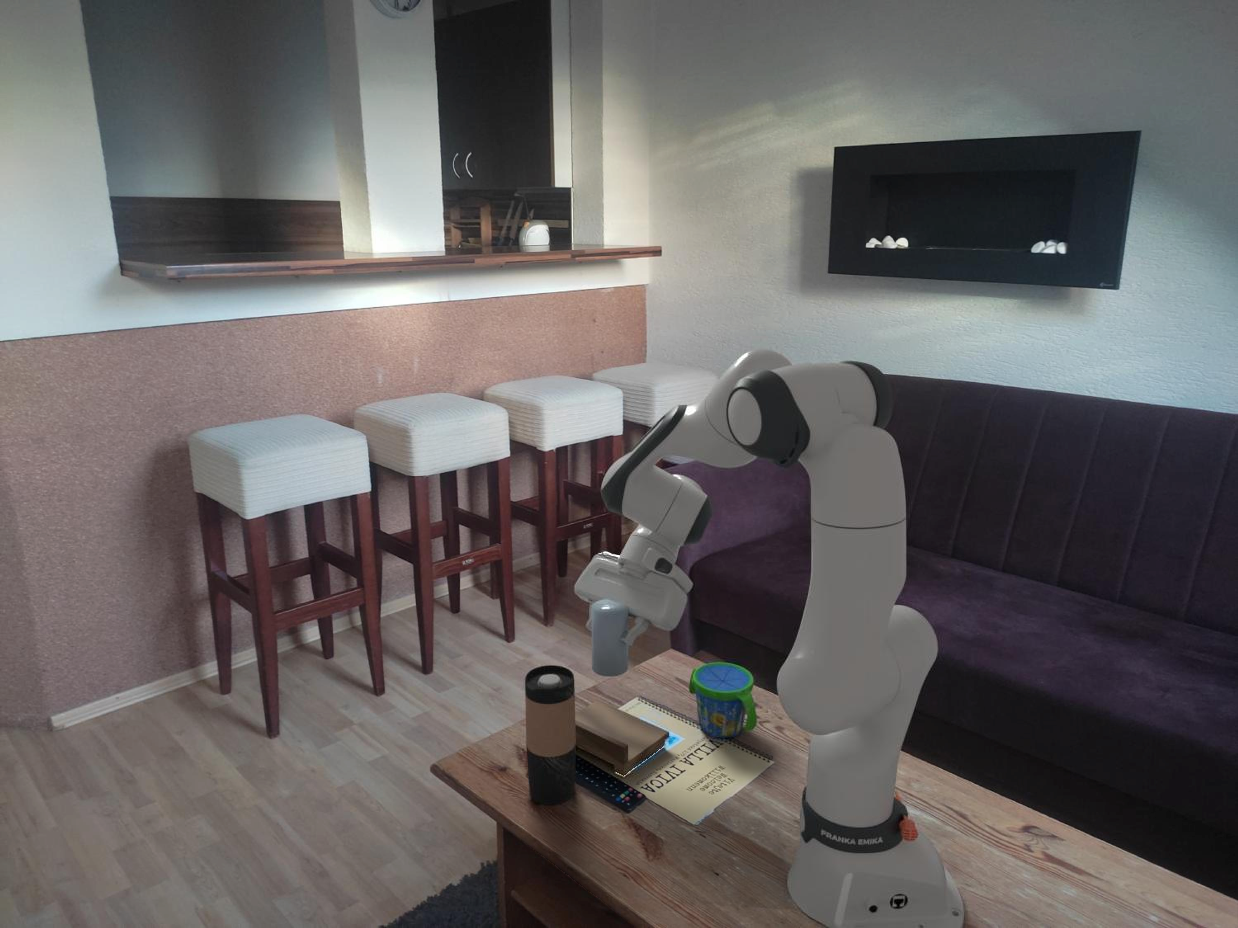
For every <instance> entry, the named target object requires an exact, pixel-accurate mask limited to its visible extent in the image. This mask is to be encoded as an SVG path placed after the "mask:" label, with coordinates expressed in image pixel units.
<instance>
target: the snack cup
mask: <svg viewBox="0 0 1238 928" xmlns="http://www.w3.org/2000/svg"><path fill="white" fill-rule="evenodd" d="M754 683H755V679H754V676H753V675H752V673H751V672H750V671H749V670H748V669H746V668H744V667H743V666H740V665H739V664H738V665H737V664H734V663H729V662H710V663H706V664H705V663H704V664H703V665H701V666H699V667H695V668H693V670H692V673H691V675H690V679H689V683H688V691H689V693H690V694H691V695H695V699H696V701H695V702H696V709H697V716H698V717H697V718H698V724H699V728H700V729H702V731H703V733H706V734H708V735H709V736H711V737H712V738H716V739H717V738H724V739H726V738H731V737H733V738H734V737H736V736H737V735H738V734H739V733H740V732H741V730H742V729H743V726H744V729H743V731H745V732H747V733H748V732H750V731H752V730H753V729H754V728H756V726H757V723H758V716H757V712H756V711H757V710H756V704H755V700H754V697H753V695H752V693H751V692H752V691H753V688H754ZM746 716H747V717H746ZM745 717H746V721H745ZM744 722H745V725H744Z"/></svg>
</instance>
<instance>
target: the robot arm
mask: <svg viewBox="0 0 1238 928" xmlns="http://www.w3.org/2000/svg"><path fill="white" fill-rule="evenodd" d="M893 408H894V398H893V392H892V387H891V385H890V382H889V381H888V379H887V376H885V375H884V373H883V372H882V371H881V370H880V369H879V368H877V367H876V366H874V365H873V364H869V363H866V362H862V361H856V360H840V361H838V362H819V363H818V362H817V363H811V362H804V363H797V364H792V362H791V361H790V360H789V359H788V358H787V357H785V356H784V355H783V354H781V353H779V352H777V351H775V350H771V349H768V348H767V349H765V348H757V349H752V350H749V351H747V352H745V353H744V354H741V355H740V356H739V357H738V358H737V359H736V360H735V361H734V362H733V363H732V364H731V365H730V366H729V367H728V368H727V369H726V370H725V371H724V373H723V374H722V375H721V376H720V377H719V378H718V380H717V381H716V383H715V384H714V385H713V387H712V388H711V390H710V391H709V393H708V394H707V396H706V397H705V398H703V399H702V400H700V401H698V402H694V403H690V404H677V405H676V406H673V407H672V408H671V409H670V410H669V411H667V412H666V413H665V414H664V415H662V417H661V418H660V419H658V421H656V422H655V423H654V425H652V426H651V428H650V429H648V431H646V433H645V434H644V435H643V436H642V437H641V438H640V439H639V440H638V441H637V442H636V443H635V444H634V445H633V446H632V447H631V448H630V449H629V450H628V451H627V452H625V453H624V454H623V455H621V457H620V458H618V459H617V460H616V461H615V462H614V463H612V465H611V466H610V467H609V468H608V470H607V472H606V473H605V475H604V477H603V478H602V479H603V480H602V483H601V485H600V486H601V487H600V494H601V498H602V501H603V503H604V505H605V508H606V509H607V511H610V512H613V513H614V514H617V515H620V516H621V517H626V518H627V519H629V520H631V521H633V522H635V523H637V524H638V525H637V526H636V529H634V530H633V532H632V533H631V534H630V535H629V537H628V540H627V541H626V543H625V545H624V548H623V549H622V551H621V553H620V555H619V554H614V553H611V552H609V551H602V552H601V553H600V552H598V553H597V554H595V555H594V556H593V557H592V559H591V561H590V562H589V564H587V566H586V567H585V569H584V570H583V571H582V572H581V574H580V576H579V578H578V579H577V581H576V582H575V584H574V594H575V595H576V596H578V598H579V599H580V600H582V601H585V602H587V603H589V606H588V607H589V610H588V613H589V614H588V616H589V619H587V622H586V624H585V628H586V629H587V630H588V631H590V632H592V604H593V603H595V602H597V601H599V600H604V599H608V600H611V601H614V602H617V603H620V604H622V605H625V606H628V618H631V619H634V624H635V625H634V626H632V627H631V629H630V628H629V629H628V632H627V631H624V632H623V634H622V636H621V638H620V641H621V642H622V643H623V644H626V645H628V647H631V646H633V644H634V643H635V640H636V638H637V637H639V636H641V635H642V634H644V632H646V631H647V630H648V628H649V625H651V626H653V627H655V628H659V629H660V630H663V631H666V632H670V631H673V630H674V629H676V627H678V625H679V622H680V621H681V619H682V617H683V614H684V612H685V609H686V607H687V603H688V596H687V594H688V593H689V592H691V589H692V588H693V585H694V584H693V582H692V580H691V579H690V577H689V576H688V575H687V574H686V573H685V572H684V571H683V570H682V569H681V567H679V566H678V565H677V564H676V562H677V558H678V554H679V550H680V548H681V547H688V546H692V545H695V544H698V543H700V542H701V540H702V538H703V536H704V533H705V530H706V528H707V527H708V526H707V525H708V524H709V522H710V520H711V518H712V517H713V515H714V513H715V512H714V508H713V504H712V501H711V498H710V497H709V495H707V494H706V493H705V492H704V491H703V489H702V487H701V486H700V485H699V483H697V482H696V481H695V480H693V479H692V478H690V477H688V476H685V475H683V474H677V473H676V474H671V473H669V472H668V471H666V470H664V469H662V468H660V467H658V466H657V465H656V464H657V463H658V462H659V461H660V460H661V459H662V458H664V457H668V456H675V457H681V458H686V459H690V460H694V461H696V462H700V463H703V464H706V465H709V466H712V467H716V468H722V469H724V468H725V469H726V468H727V469H733V468H739V467H743V466H746V465H748V464H749V463H751V462H753V461H755V460H756V459H757V458H760V459H764V460H768V461H770V462H772V463H774V464H775V465H776V466H777V467H779V468H782V469H789V468H791V467H792V466H793V465H795V464H796V463H797V462H799V463H800V464H801V465H802V466H803V467H804V468H805V470H806V473H807V474H808V477H809V482H810V483H809V484H810V523H811V524H810V526H811V527H810V531H811V532H810V533H811V534H810V536H811V537H810V539H811V541H810V542H811V543H810V544H811V546H810V547H811V548H810V549H811V556H810V557H811V568H810V569H811V570H810V571H811V573H810V582H809V588H808V592H807V593H808V595H807V597H806V598H807V599H806V602H805V607H804V610H803V614H802V619H801V622H800V626H799V629H798V631H797V635H796V638H795V641H794V643H793V646H792V649H791V650H790V652H789V654H788V656H787V658H786V660H785V662H784V663H783V664H782V666H781V667H780V669H779V672H778V675H777V678H776V690H777V695H778V699H779V703H780V705H781V707H782V709H783V710H784V712H785V714H786V715H787V717H788V718H789V719H790V721H792V722H793V723H794V724H795V725H796V726H797V727H798V728H800V729H801V730H803V731H804V732H807V733H809V734H811V737H810V740H809V743H808V744H809V745H808V754H807V755H808V756H807V757H808V758H807V771H806V782H805V783H806V785H805V786H804V789H803V791H802V797H801V802H800V809H799V832H800V837H799V842H798V848H797V849H796V850H797V851H796V855H795V856H794V860H793V863H792V865H791V868H790V869H789V871H788V874H787V879H786V883H787V890H788V893H789V895H790V897H791V898H792V900H793V902H794V903H795V905H796V906H797V907H798V908H799V909H800V910H801V911H802V912H804V914H806V915H807V916H808V917H810V918H812V919H813V920H815V921H816V922H819V923H820V924H822V925H824V926H826V927H828V928H963V927H964V920H965V911H964V909H965V908H964V905H963V904H964V903H963V900H962V896H961V893H960V891H959V888H958V886H957V883H956V882H955V879H954V878H953V876H952V874H951V873H950V872H949V870H948V869H947V868H946V867H945V865H944V864H943V861H942V858H941V856H940V854H939V852H938V850H937V848H936V846H935V845H934V843H933V842H932V840H931V839H930V838H929V837H928V836H927V835H926V834H925V833H924V832H922V831H920V830H918V829H917V827H916V823H915V822H914V820H911V819H908V818H909V812H908V809H907V807H906V805H905V804H904V803H903V802H902V800H901V796H900V795H899V793H898V792H897V791H896V783H897V774H898V767H899V766H898V765H899V759H900V755H901V750H902V746H903V744H904V741H905V738H906V734H907V732H908V729H909V726H910V722H911V721H912V717H913V713H914V711H915V707H916V705H917V701H918V698H919V695H920V693H921V690H922V687H923V685H924V682H925V680H926V677H927V676H928V674H929V671H930V670H931V668H932V667H933V665H934V663H935V661H936V658H937V657H938V652H939V647H938V646H939V645H938V640H937V639H938V638H937V635H936V633H935V630H934V628H933V627H932V625H931V623H930V622H929V621H928V620H927V619H926V618H925V616H923V615H922V614H921V613H920V612H918V611H917V610H915V609H914V608H911V607H909V606H906V605H902V604H901V605H900V604H896V601H897V600H898V598H899V596H900V594H901V592H902V591H903V588H904V585H905V583H906V578H907V502H906V490H905V489H906V488H905V482H904V481H905V480H904V473H903V467H902V462H901V457H900V453H899V448H898V445H897V442H896V441H895V439H894V437H893V436H892V435H891V434H890V433H889V432H888V431H886V429H885V428H886V427H887V425H888V424H889V421H890V420H891V417H892V414H893Z"/></svg>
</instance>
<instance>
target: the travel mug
mask: <svg viewBox="0 0 1238 928" xmlns="http://www.w3.org/2000/svg"><path fill="white" fill-rule="evenodd" d="M526 673H527V674H526V675H525V677H524V689H525V690H524V695H525V697H524V698H525V699H524V700H525V741H526V742H525V744H526V760H527V772H528V773H527V776H528V778H527V779H528V789H529V795H530V797H531V798H532V799H533V800H534V801H535V802H537V803H539V804H542V805H545V806H546V805H547V806H548V805H549V806H554V805H559V804H563V803H565V802H567V801H569V800H570V799H571V798H572V797H573V795H574V794H575V793H574V792H575V787H576V786H575V785H576V752H577V751H576V748H577V746H576V729H575V714H576V699H575V698H576V697H575V694H576V693H575V692H576V691H575V690H576V689H575V675H574V672H573V671H572V670H570V669H569V668H567V667H564V666H563V665H562V666H561V665H556V664H555V665H553V664H552V665H551V664H550V665H549V664H546V665H541V666H538V667H534V668H533V669H531V670H529V671H528V672H526Z"/></svg>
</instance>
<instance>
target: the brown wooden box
mask: <svg viewBox="0 0 1238 928" xmlns="http://www.w3.org/2000/svg"><path fill="white" fill-rule="evenodd" d="M575 729H576V748H579V749H582V750H584V751H585V752H588V753H589V754H590V755H591V754H592V755H593V756H595V757H598V758H600V759H601V760H603V761H606V762H608V763H609V764H612V765H614V766H613V767H614V769H613V771H615V772H617V773H619V774H621V775H623V776H624V775H626V774H627V773H628V772H629V771H631V770H632V769H633V768H635V767H636V766H638V765H639V764H641V763H642V762H643V761H645V760H646V759H648V758H649V757H650V756H652V755H653V754H654V753H656V752H657V751H658V750H659V749H661V748H662V747H663V746H664V745H665V746H666V744H665V743H666V740H667V739H669V738H670V731H669V730H666V729H663V728H662V727H660V726H657V725H655V724H652V723H650V722H649V721H646V720H644V719H641V718H639V717H637V716H635V715H632V714H630V713H628V712H626V711H624V710H622V709H619V708H617V707H614V706H612V705H610V704H608V703H605V702H603V701H601V700H599V699H597V700H595V701H594V702H592V703H591V704H589V705H587V706H586V707H583V708H582V709H580V710H579V711H578V712H575Z"/></svg>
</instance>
